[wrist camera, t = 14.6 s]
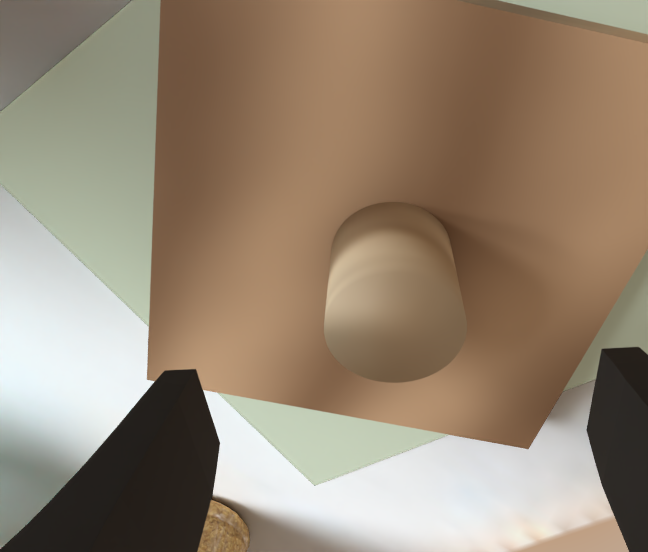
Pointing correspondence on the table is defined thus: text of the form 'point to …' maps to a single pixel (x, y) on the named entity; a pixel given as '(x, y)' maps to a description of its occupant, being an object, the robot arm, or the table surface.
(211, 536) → the sprinkles bottle
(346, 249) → the lid
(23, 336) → the table surface
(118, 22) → the mat
